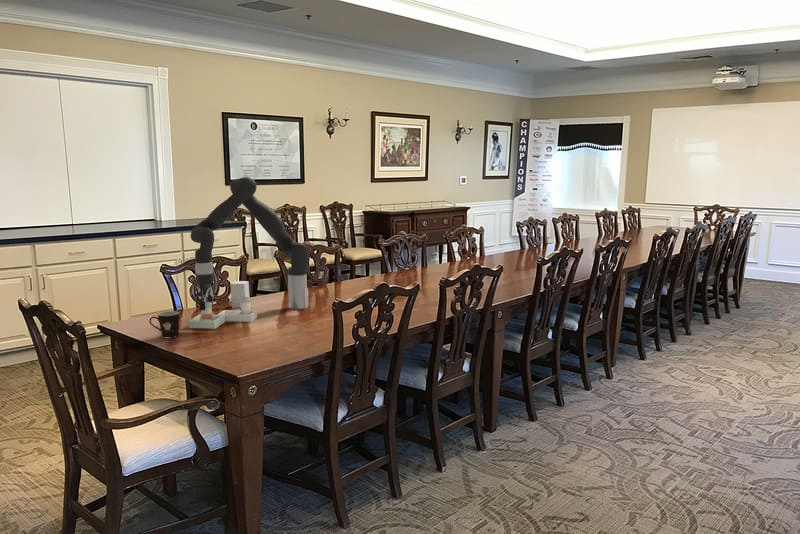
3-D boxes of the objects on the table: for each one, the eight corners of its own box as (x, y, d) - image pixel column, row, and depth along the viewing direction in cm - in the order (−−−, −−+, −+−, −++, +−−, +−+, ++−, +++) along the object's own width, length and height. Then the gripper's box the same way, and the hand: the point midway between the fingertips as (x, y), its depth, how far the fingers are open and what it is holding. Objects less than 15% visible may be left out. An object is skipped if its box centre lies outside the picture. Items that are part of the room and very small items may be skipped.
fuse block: (257, 319, 290) (257, 311, 290) (251, 323, 283) (251, 315, 282) (224, 318, 292) (223, 310, 291) (217, 322, 284) (217, 314, 283)
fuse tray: (225, 323, 283) (225, 315, 282) (215, 330, 271) (214, 321, 270) (200, 323, 284) (199, 314, 283) (188, 330, 272) (188, 321, 271)
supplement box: (250, 304, 320) (249, 280, 318) (245, 308, 313) (244, 283, 310) (236, 304, 321) (235, 280, 318) (231, 307, 313) (230, 283, 311)
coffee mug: (185, 334, 265) (183, 311, 263) (171, 340, 257) (170, 316, 255) (163, 332, 269) (161, 309, 267) (149, 337, 261) (147, 314, 259)
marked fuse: (214, 323, 279) (213, 301, 278) (210, 326, 275) (209, 304, 273) (204, 323, 280) (203, 301, 278) (200, 325, 275) (198, 304, 273)
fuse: (252, 318, 289) (251, 297, 287) (249, 320, 284) (248, 299, 282) (242, 317, 289) (241, 296, 288) (239, 320, 285) (238, 299, 283)
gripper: (206, 275, 266) (208, 312, 269) (218, 269, 280) (220, 304, 283) (189, 275, 267) (191, 311, 269) (202, 269, 281) (205, 304, 283)
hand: (206, 308), depth 276 cm, fingers open, 8 cm apart
